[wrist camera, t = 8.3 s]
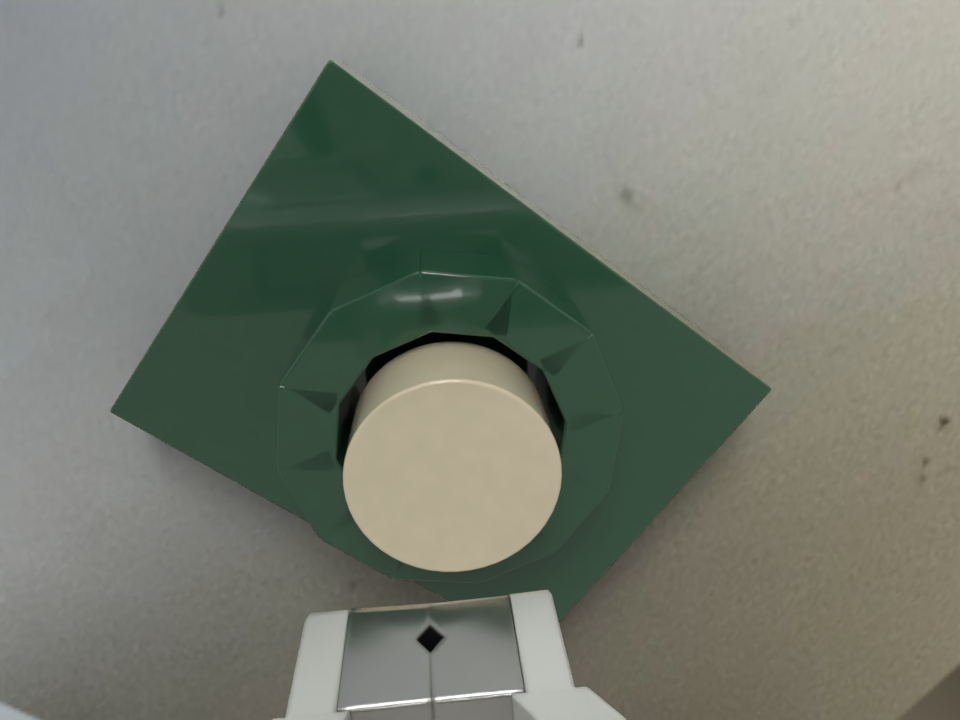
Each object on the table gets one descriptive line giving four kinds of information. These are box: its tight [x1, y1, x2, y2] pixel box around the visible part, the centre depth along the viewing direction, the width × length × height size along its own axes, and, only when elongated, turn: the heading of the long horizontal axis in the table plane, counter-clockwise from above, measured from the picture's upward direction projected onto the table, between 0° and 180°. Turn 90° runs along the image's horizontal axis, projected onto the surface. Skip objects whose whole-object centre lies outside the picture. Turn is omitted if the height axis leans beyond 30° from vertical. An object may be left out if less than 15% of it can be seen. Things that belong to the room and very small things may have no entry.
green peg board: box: [110, 60, 771, 622], centre depth 17 cm, size 12×9×4 cm
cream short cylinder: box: [343, 341, 562, 572], centre depth 15 cm, size 4×4×2 cm
